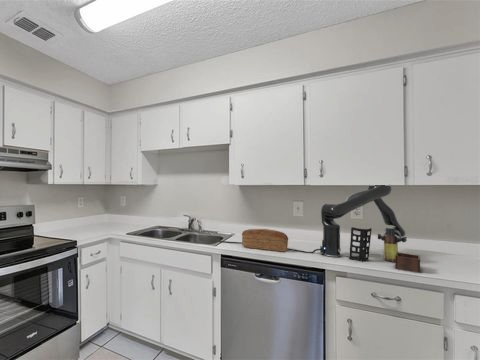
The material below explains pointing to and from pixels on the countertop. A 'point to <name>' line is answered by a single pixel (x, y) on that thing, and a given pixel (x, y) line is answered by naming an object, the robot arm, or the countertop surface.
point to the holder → (362, 242)
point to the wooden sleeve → (407, 262)
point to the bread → (265, 239)
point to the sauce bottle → (390, 245)
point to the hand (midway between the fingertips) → (390, 239)
